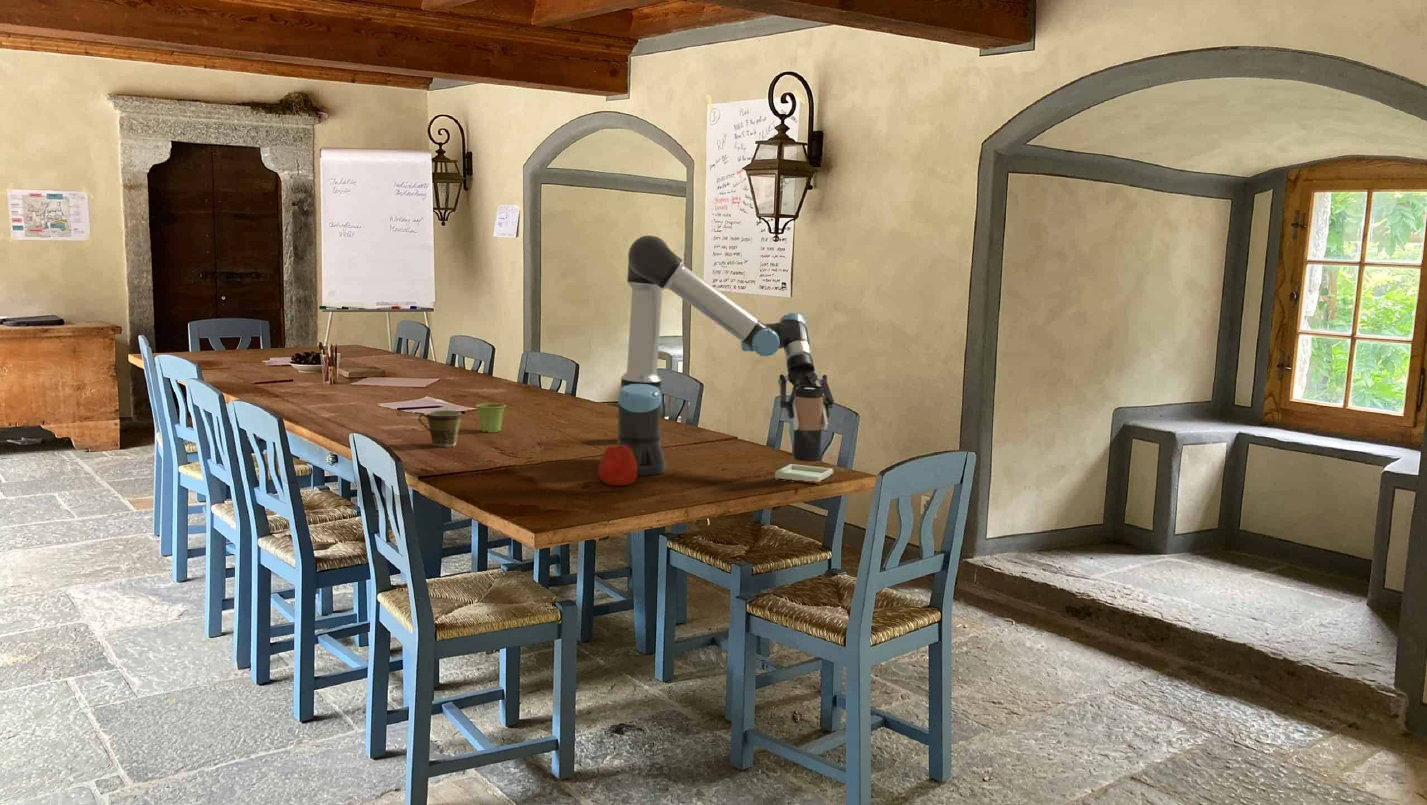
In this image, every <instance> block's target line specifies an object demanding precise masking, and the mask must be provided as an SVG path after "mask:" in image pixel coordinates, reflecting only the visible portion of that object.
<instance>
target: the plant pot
mask: <svg viewBox="0 0 1427 805" xmlns="http://www.w3.org/2000/svg"><path fill="white" fill-rule="evenodd" d="M506 406H507V405H506V404H504V403H496V402H495V403H493V402H490V403H489V402H487V403H479V404H476V408H477V411H478V414H479V420H480V421H479V422H480V429H481V432H483V433H485V432H486V431H487V433H498V432H501V431H502V423H503V416H504V411H505V408H506Z"/></svg>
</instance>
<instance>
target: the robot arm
mask: <svg viewBox="0 0 1427 805" xmlns="http://www.w3.org/2000/svg"><path fill="white" fill-rule="evenodd" d="M627 258H628V259H627V260H628V264H627V281H626V282H627V284H628V285H629V286H630V287H631V299H630V300H631V302H630V319H629V331H628V332H629V333H628V334H629V335H628V349H627V350H628V351H627V365H626V368H627V369H626V372H625V373H624V374H622V376H621V378H620V380H621V381H620V389H619V391H618V395H617V402H618V412H617V413H618V415H617V416H618V420H617V422H618V423H617V444H616V445H626V446H627V447H629V448H630V449H631V451H632V452H633V454H634V457H635V459H636V462H637V467H638V468H637V476H653V475H658V474H662V473H665V472H666V465H667V464H666V460H665V457H664V452H663V450H662V446H661V442H660V441H661V408H662V407H661V406H662V405H661V403H662V396H661V395H662V378H661V377H660V376H659V375H658V361H659V359H658V358H659V348H660V347H659V343H660V333H661V332H660V330H661V316H662V315H661V314H662V302H663V301H662V299H663V290H666V289H667V290H670V291H671V292H672V293H674V294H675V295H677V296H678V297H680V298H681V299H682V300H684V301H685V302H686V303H688V304H689V305H690V306H691V307H693V308H695V309H696V310H698V311H699V312H701V313H702V314H703V315H704V316H706V317H708V318H709V319H710V320H711V321H712V322H714V323H716V324H717V325H719V326H720V327H721V328H722V329H724V330H725V331H727V332H728V333H730V334H731V335H732V336H733V337H735V338H736V339H738V340H739V341H740V347H741V351H743V352H754V353H755V354H757V355H759V356H760V357H769V356H772V355H775V354H776V352H778V350H779V349H783V351H784V357H785V363H786V368H787V375H784V374H782V373H781V374H780V375H779V377H778V384H779V394H780V396H779V397H780V398H779V407H780V408H781V409H784V408H785V409H786V411H787V414H788V415H787V416H788V418H789V419H792V423H793V431H794V430H797V429H798V426H799V422H798V416H797V410H796V405H795V404H794V401H795V397H796V386H802V385H812V386H818V385H817V382H818V383H819V386H820V387H823V412H822V431H827V428H828V425H829V421H828V419H829V417H830V409H832V408H833V405H834V402H835V400H834V397H833V395H832V392H831V389H830V386H829V384H828V376H827V374H823V375H818V374H817V373H816V371H815V366H814V359H813V354H812V350H811V349H812V348H811V345H810V339H809V338H810V337H809V332H808V327H807V323H806V320H805V317H804V316H803V315H801V313H798V312H789V313H787V314H784V315H783V316H781V318H780V320H779V322H775V323H763V322H762V321H760V320H759V319H758V318H756V317H755V316H753V314H751V313H750V312H748V311H747V310H745V309H744V308H743V307H741V306H740V305H739V304H738V303H736V302H734V300H732V299H730V298H729V297H727V296H726V295H725V294H724V293H722V292H720V291H719V290H718V289H716V288H715V287H714V286H713V285H711V284H710V283H709V282H707V281H706V280H704V279H703V278H701V277H700V276H699V275H698V274H696V273H695V272H693V271H692V270H690V269H689V268H688V267H686V266H685V262H684V260H683V259H682V258H680V257H679V256H678V255H677V254H675V252H673V251H672V249H671V248H669V246H668V245H667V243H666V241H664V240H663V239H662V238H660V237H658V236H654V235H644V236H641V237H638V238H637V239H635V240H634V241H633V242H632V244H631V245H630V248H629V250H628V254H627ZM816 381H817V382H816ZM787 382H789V383H790V384H791V385H792V386H793V388H792V390H791V394H790V396H789V399H788V401H787Z"/></svg>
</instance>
